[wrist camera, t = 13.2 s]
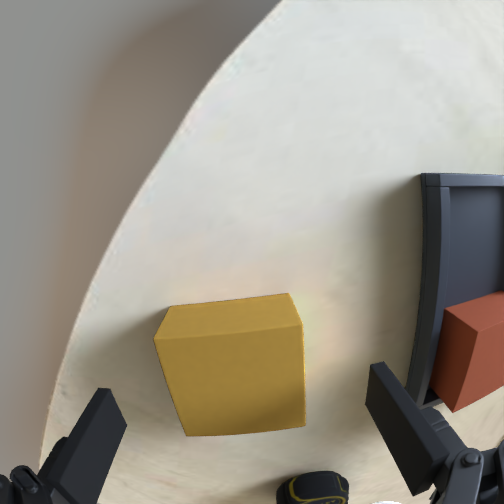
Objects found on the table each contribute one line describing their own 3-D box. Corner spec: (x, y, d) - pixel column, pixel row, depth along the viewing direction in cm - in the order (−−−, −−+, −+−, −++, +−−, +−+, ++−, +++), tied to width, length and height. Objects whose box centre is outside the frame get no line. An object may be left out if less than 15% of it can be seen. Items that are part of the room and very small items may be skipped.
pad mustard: (169, 305, 17) (152, 338, 13) (289, 292, 17) (303, 323, 13) (193, 396, 18) (185, 436, 14) (295, 386, 18) (306, 426, 14)
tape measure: (278, 500, 22) (282, 527, 19) (270, 471, 21) (274, 503, 17) (342, 487, 22) (350, 512, 19) (344, 456, 21) (355, 485, 17)
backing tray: (420, 173, 15) (438, 173, 14) (514, 176, 16) (531, 177, 14) (402, 400, 19) (412, 415, 18) (490, 363, 20) (501, 373, 18)
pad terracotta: (443, 308, 17) (477, 331, 13) (500, 290, 17) (532, 306, 13) (428, 384, 19) (452, 413, 15) (484, 360, 19) (509, 381, 15)
